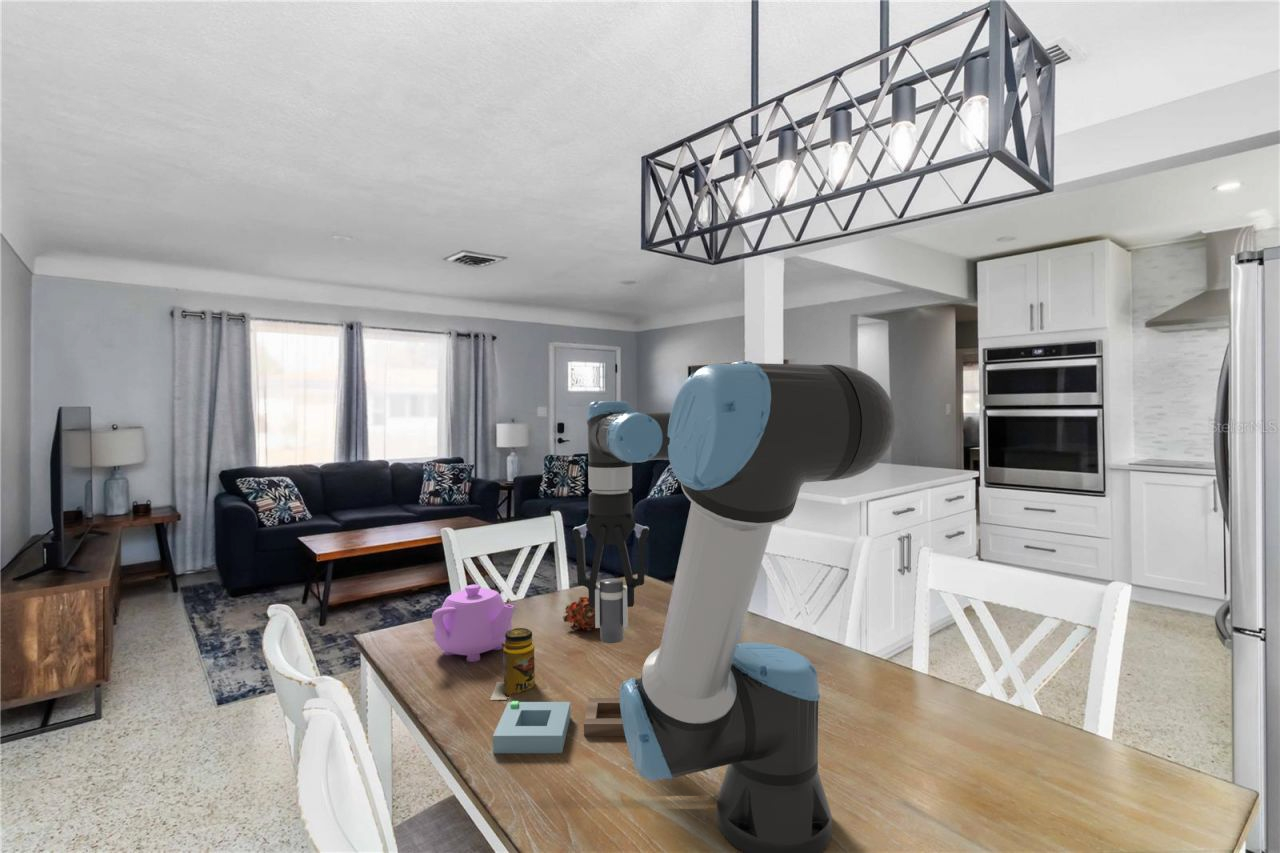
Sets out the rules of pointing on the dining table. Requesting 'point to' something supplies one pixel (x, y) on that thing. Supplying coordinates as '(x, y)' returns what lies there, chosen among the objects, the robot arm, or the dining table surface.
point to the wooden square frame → (603, 717)
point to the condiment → (516, 664)
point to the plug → (611, 610)
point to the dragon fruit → (580, 614)
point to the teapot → (472, 622)
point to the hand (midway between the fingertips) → (611, 624)
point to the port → (532, 727)
